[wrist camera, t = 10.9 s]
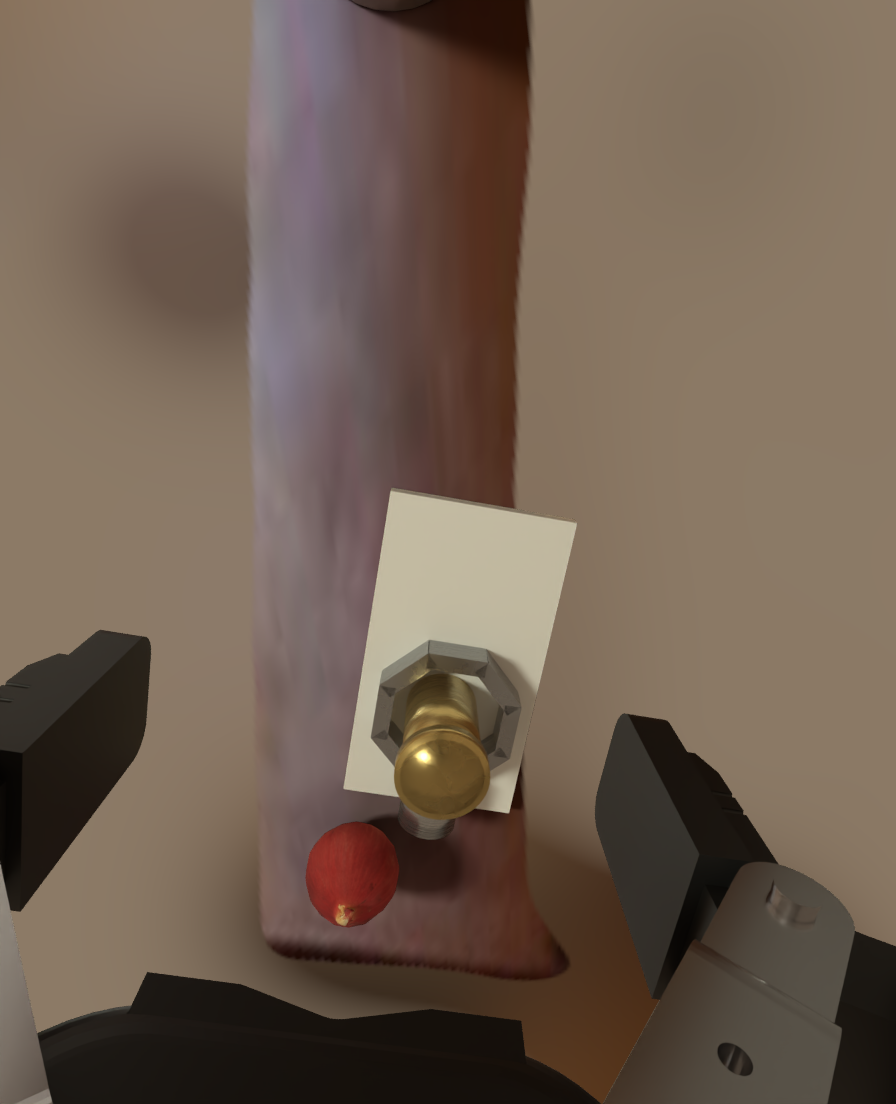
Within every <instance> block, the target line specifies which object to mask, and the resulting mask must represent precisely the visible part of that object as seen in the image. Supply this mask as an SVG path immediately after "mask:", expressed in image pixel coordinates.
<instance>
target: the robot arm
mask: <svg viewBox="0 0 896 1104" xmlns="http://www.w3.org/2000/svg"><path fill="white" fill-rule="evenodd" d="M351 1H353V2H355V3H357V4H360V5H363V6H365V7H368V8H371V9H374V10H384V11H400V10H406V9H412V8H416V7H418V6H420V5H423V4H425V3H427V2H430V1H432V0H351ZM150 659H151V645H150V641H149V639H148V638H147V637H142V636H136V635H129V634H123V633H117V632H111V631H104V630H99V631H97V632H96V633H95V634H93V635H92V636H91V637H90V638H88V639H87V640H86V641H85V642H84V643H82V644H81V645H80V646H79V647H78V648H76V649H75V650H74V651H73V652H72V653H70V654H69V655H65V654H56V655H54V656H51V657H49V658H46V659H43V660H41V661H38V662H36V663H33V664H30V665H27V666H26V667H25V668H24V669H22V670H21V671H20V672H18V673H17V674H16V675H14V676H13V677H12V678H11V679H9V680H8V681H7V682H6V685H1V686H0V1104H600V1102H598V1101H597V1100H596V1099H595V1098H594V1097H592V1096H591V1095H590V1094H589V1093H587V1092H586V1091H585V1090H584V1089H582V1088H581V1087H580V1086H579V1085H577V1084H576V1083H575V1082H573V1081H572V1080H570V1079H569V1078H567V1077H566V1076H564V1075H563V1074H561V1073H560V1072H558V1071H556V1070H554V1069H552V1068H550V1067H548V1066H547V1065H544V1064H543V1063H541V1062H539V1061H537V1060H534V1059H532V1058H529V1057H527V1056H525V1049H524V1040H523V1032H522V1024H521V1021H519V1020H510V1019H503V1018H496V1017H488V1016H480V1015H472V1014H465V1013H457V1012H449V1011H442V1010H434V1009H429V1010H420V1011H411V1012H402V1013H394V1014H386V1015H377V1016H368V1017H359V1018H350V1019H330V1018H327V1017H323V1016H321V1015H318V1014H315V1013H313V1012H310V1011H308V1010H305V1009H303V1008H300V1007H298V1006H295V1005H292V1004H290V1003H287V1002H285V1001H282V1000H280V999H277V998H275V997H272V996H270V995H267V994H264V993H262V992H259V991H257V990H254V989H252V988H249V987H247V986H244V985H241V984H234V983H227V982H219V981H211V980H203V979H196V978H188V977H179V976H173V975H165V974H157V973H149V972H147V974H146V976H145V978H144V980H143V982H142V984H141V986H140V989H139V991H138V993H137V995H136V997H135V999H134V1001H133V1003H132V1006H124V1007H117V1008H112V1009H107V1010H103V1011H98V1012H93V1013H90V1014H87V1015H84V1016H80V1017H77V1018H74V1019H71V1020H68V1021H65V1022H63V1023H61V1024H58V1025H56V1026H53V1027H51V1028H49V1029H46V1030H44V1031H41V1032H39V1033H37V1031H36V1027H35V1022H34V1017H33V1013H32V1008H31V1003H30V999H29V994H28V990H27V985H26V980H25V976H24V971H23V967H22V962H21V957H20V953H19V948H18V943H17V939H16V934H15V930H14V925H13V920H12V916H11V911H10V910H12V911H21V910H22V909H23V908H24V906H25V905H26V903H27V902H28V901H29V899H30V898H31V897H32V896H33V894H34V893H35V891H36V890H37V889H38V888H39V886H40V885H41V884H42V882H43V881H44V879H45V878H46V877H47V875H48V874H49V873H50V871H51V870H52V869H53V867H54V866H55V865H56V863H57V862H58V861H59V859H60V858H61V857H62V855H63V854H64V853H65V851H66V850H67V849H68V847H69V846H70V845H71V843H72V842H73V841H74V839H75V838H76V837H77V835H78V834H79V833H80V831H81V830H82V829H83V827H84V826H85V824H86V823H87V822H88V820H89V819H90V818H91V816H92V815H93V814H94V812H95V811H96V810H97V808H98V807H99V806H100V804H101V803H102V802H103V800H104V799H105V798H106V796H107V795H108V794H109V792H110V791H111V790H112V788H113V787H114V786H115V784H116V783H117V782H118V780H119V779H120V778H121V776H122V775H123V774H124V772H125V771H126V770H127V768H128V767H129V766H130V764H131V763H132V762H133V760H134V758H135V757H136V755H137V753H138V751H139V748H140V746H141V743H142V740H143V736H144V732H145V727H146V718H147V703H148V689H149V673H150ZM595 820H596V827H597V831H598V835H599V837H600V840H601V844H602V847H603V850H604V853H605V856H606V859H607V862H608V865H609V868H610V871H611V874H612V878H613V881H614V883H615V887H616V890H617V893H618V896H619V899H620V902H621V905H622V908H623V911H624V914H625V917H626V921H627V923H628V926H629V930H630V933H631V936H632V939H633V942H634V945H635V948H636V951H637V954H638V957H639V960H640V963H641V967H642V970H643V972H644V976H645V979H646V982H647V985H648V988H649V991H650V994H651V997H652V999H659V1000H660V1001H659V1002H658V1004H657V1006H656V1008H655V1010H654V1012H653V1013H652V1015H651V1017H650V1019H649V1021H648V1023H647V1024H646V1026H645V1028H644V1030H643V1032H642V1034H641V1035H640V1037H639V1039H638V1041H637V1043H636V1044H635V1046H634V1048H633V1050H632V1052H631V1053H630V1055H629V1057H628V1059H627V1061H626V1062H625V1064H624V1066H623V1068H622V1070H621V1072H620V1073H619V1075H618V1077H617V1079H616V1081H615V1083H614V1084H613V1086H612V1088H611V1090H610V1092H609V1093H608V1095H607V1097H606V1099H605V1101H604V1103H603V1104H896V946H893V945H890V944H888V943H885V942H882V941H880V940H877V939H874V938H872V937H868V936H866V935H863V934H861V933H859V932H856V931H855V926H854V922H853V920H852V917H851V915H850V914H849V912H848V911H847V909H846V908H845V906H844V905H843V904H842V903H841V902H840V901H839V899H838V898H836V897H835V896H834V895H833V894H832V893H831V892H830V891H829V890H827V889H826V888H825V887H824V886H822V885H821V884H819V883H818V882H816V881H815V880H813V879H812V878H810V877H808V876H806V875H804V874H802V873H800V872H798V871H796V870H793V869H791V868H788V867H786V866H782V865H779V864H778V863H777V861H776V860H775V858H774V857H773V855H772V854H771V852H770V851H769V849H768V847H767V846H766V844H765V843H764V841H763V840H762V838H761V837H760V835H759V834H758V832H757V831H756V829H755V828H754V826H753V825H752V823H751V822H750V820H749V819H748V817H747V816H746V815H743V809H742V808H741V807H740V805H739V804H738V802H737V800H736V799H735V798H733V797H732V793H731V791H730V790H729V788H728V787H727V785H726V784H725V782H724V780H723V779H722V777H721V776H720V774H719V773H718V772H717V771H716V770H714V769H713V768H712V767H711V766H710V765H708V764H707V763H706V762H705V761H704V760H702V759H701V758H700V757H699V756H698V755H696V754H695V753H689V752H687V751H686V749H685V748H684V746H683V745H682V743H681V741H680V740H679V738H678V736H677V735H676V733H675V731H674V730H673V728H672V726H671V725H670V723H669V722H668V721H666V720H662V719H656V718H649V717H642V716H636V715H630V714H622V715H621V716H620V718H619V719H618V721H617V723H616V726H615V729H614V733H613V736H612V740H611V744H610V747H609V751H608V755H607V758H606V762H605V766H604V769H603V773H602V776H601V780H600V784H599V788H598V792H597V796H596V806H595Z"/></svg>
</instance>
